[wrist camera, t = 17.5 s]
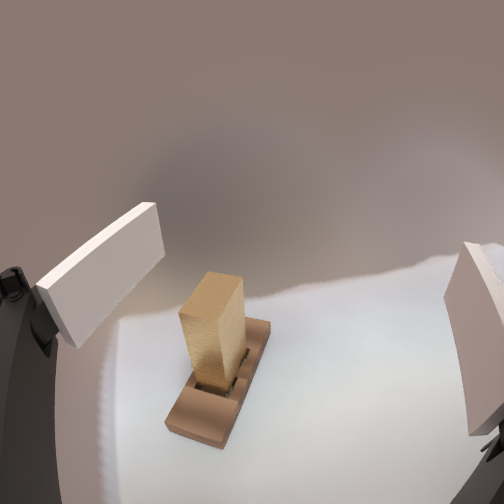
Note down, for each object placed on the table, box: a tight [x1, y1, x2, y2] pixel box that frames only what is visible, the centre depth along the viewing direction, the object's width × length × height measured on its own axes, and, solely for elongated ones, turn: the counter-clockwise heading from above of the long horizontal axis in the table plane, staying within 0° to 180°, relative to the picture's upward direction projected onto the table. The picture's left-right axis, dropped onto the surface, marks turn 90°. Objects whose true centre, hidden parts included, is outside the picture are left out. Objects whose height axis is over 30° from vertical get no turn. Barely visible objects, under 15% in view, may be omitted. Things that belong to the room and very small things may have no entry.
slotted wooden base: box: [165, 317, 270, 449], centre depth 37 cm, size 20×7×2 cm, turn 162°
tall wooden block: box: [178, 272, 247, 399], centre depth 34 cm, size 7×4×15 cm, turn 162°
